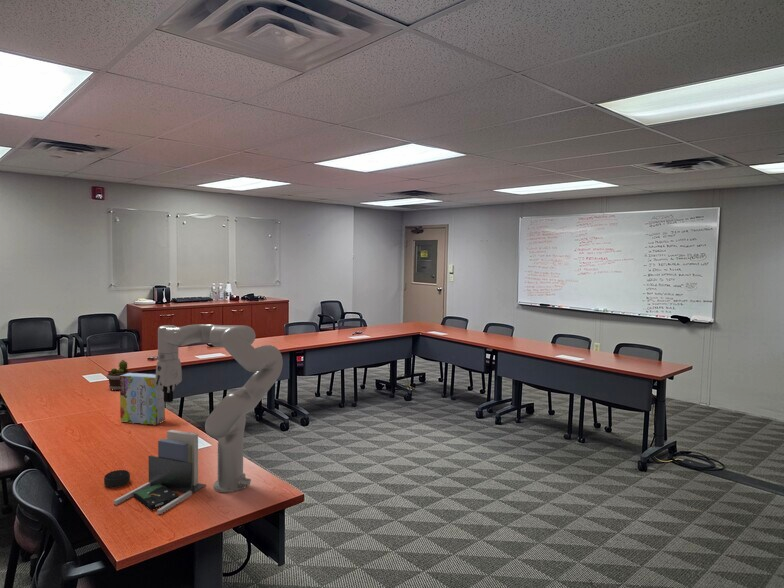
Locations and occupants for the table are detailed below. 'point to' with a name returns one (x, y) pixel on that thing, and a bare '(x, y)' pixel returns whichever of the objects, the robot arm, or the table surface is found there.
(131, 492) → the rails
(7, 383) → the table surface
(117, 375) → the flowerpot
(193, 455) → the book row
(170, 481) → the bookend
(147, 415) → the snack box
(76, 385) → the table surface
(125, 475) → the smart speaker
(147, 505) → the disk drive
